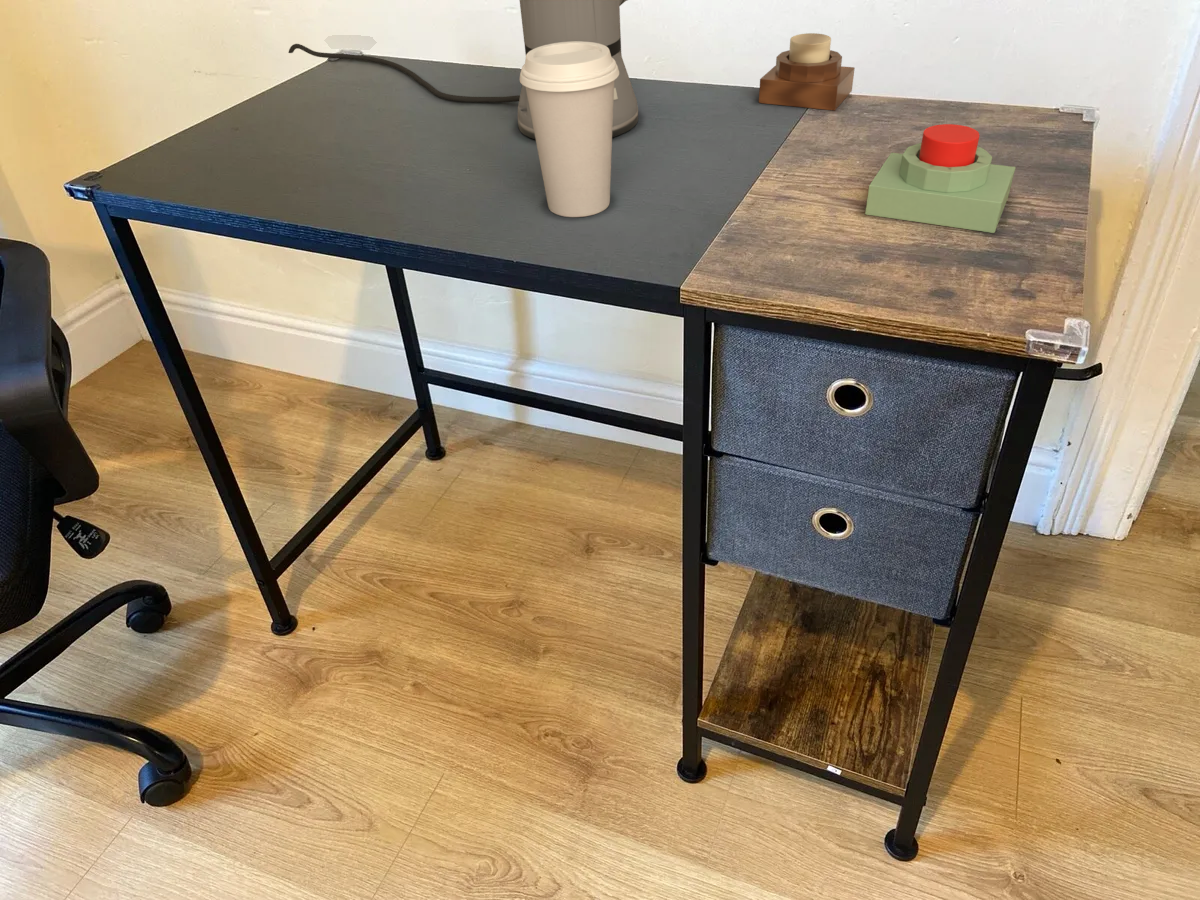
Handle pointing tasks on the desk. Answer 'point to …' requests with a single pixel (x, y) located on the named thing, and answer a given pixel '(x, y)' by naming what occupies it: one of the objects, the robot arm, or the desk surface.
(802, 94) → the wooden square base
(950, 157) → the near button
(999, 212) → the sage console
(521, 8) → the robot arm
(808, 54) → the far button
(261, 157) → the desk surface
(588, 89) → the coffee cup
